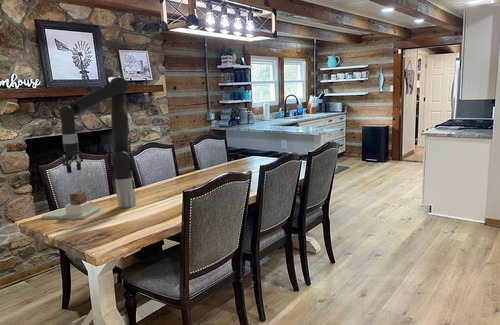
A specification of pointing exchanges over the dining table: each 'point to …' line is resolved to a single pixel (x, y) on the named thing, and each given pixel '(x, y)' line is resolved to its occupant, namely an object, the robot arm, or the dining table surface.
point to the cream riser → (79, 208)
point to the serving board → (62, 215)
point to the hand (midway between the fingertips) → (74, 171)
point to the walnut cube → (78, 198)
